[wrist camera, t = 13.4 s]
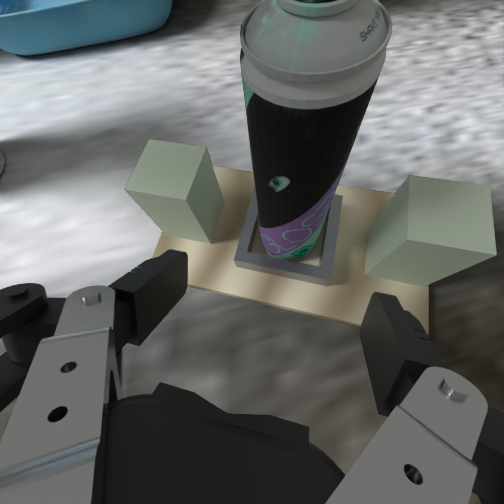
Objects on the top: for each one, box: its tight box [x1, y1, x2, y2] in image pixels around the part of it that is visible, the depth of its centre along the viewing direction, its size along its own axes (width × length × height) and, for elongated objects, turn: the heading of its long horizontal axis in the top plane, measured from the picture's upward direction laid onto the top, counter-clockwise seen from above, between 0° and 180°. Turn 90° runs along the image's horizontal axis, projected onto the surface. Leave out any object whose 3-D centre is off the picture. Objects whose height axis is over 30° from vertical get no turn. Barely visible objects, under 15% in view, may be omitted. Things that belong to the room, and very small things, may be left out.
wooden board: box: [152, 166, 429, 336], centre depth 26 cm, size 26×14×1 cm, turn 76°
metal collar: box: [234, 187, 343, 286], centre depth 24 cm, size 9×9×2 cm
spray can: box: [240, 0, 392, 262], centre depth 16 cm, size 6×6×20 cm
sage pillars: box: [124, 139, 497, 287], centre depth 22 cm, size 25×5×8 cm, turn 76°
